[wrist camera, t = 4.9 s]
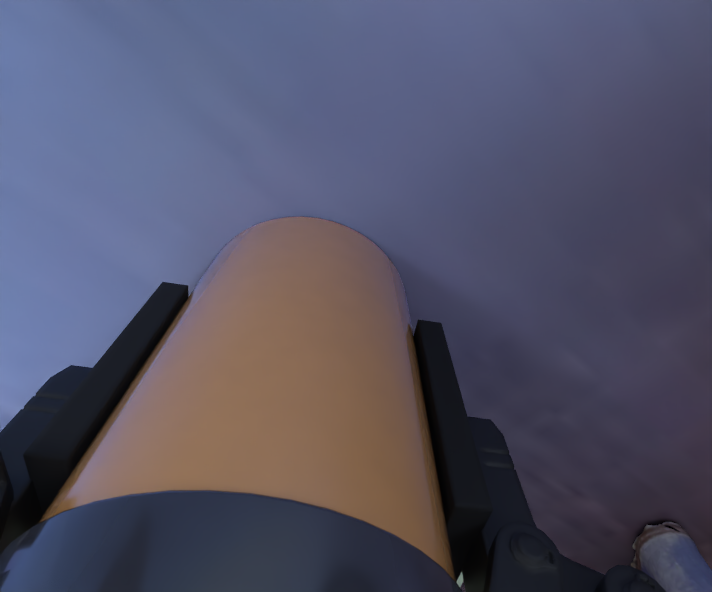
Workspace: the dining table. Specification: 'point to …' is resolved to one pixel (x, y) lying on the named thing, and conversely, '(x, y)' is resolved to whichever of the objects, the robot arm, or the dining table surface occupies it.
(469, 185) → the dining table surface
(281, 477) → the jar
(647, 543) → the flask
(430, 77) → the dining table surface
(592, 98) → the dining table surface
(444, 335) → the robot arm
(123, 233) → the dining table surface
